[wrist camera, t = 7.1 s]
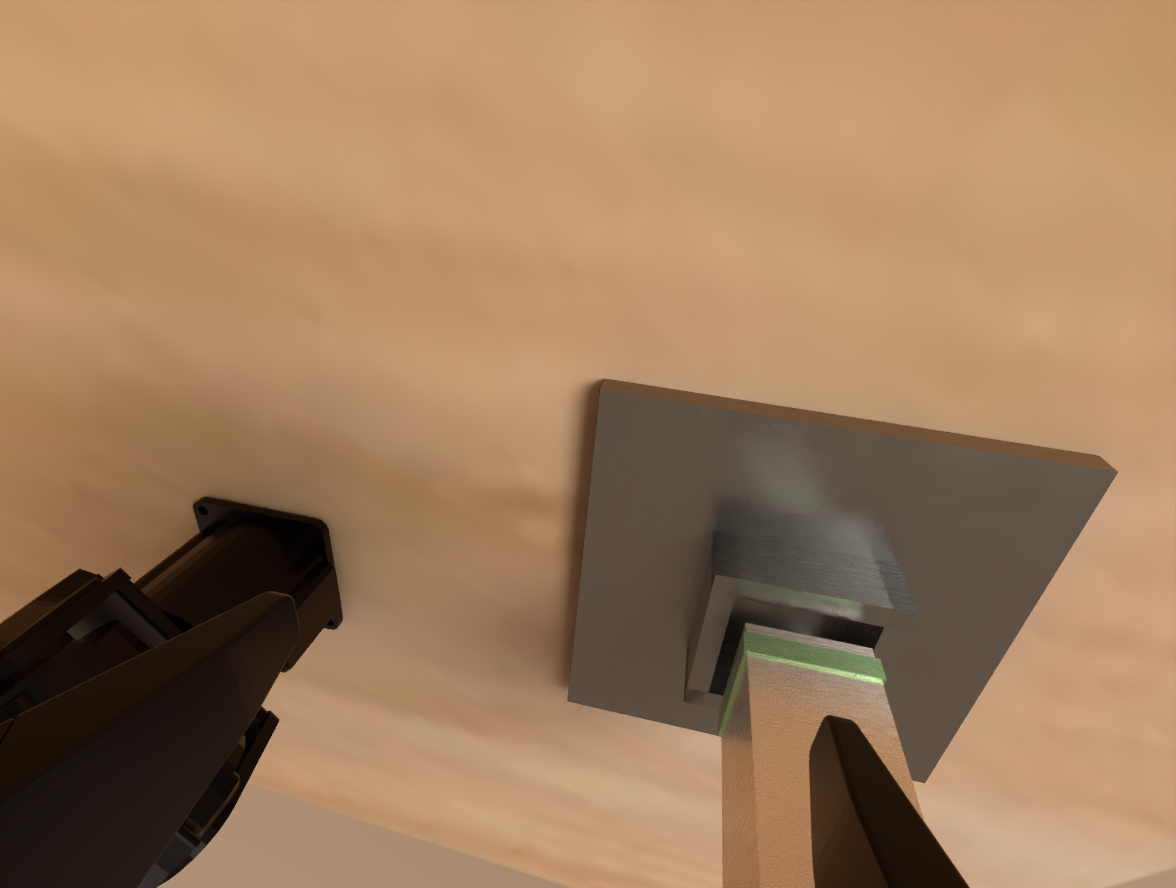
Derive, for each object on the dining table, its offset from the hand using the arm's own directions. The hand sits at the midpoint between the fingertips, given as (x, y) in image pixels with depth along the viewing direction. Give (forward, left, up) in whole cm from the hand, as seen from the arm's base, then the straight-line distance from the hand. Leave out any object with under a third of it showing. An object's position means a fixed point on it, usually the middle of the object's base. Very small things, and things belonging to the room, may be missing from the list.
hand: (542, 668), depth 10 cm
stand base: (+7, -8, -12) cm, 16 cm away
